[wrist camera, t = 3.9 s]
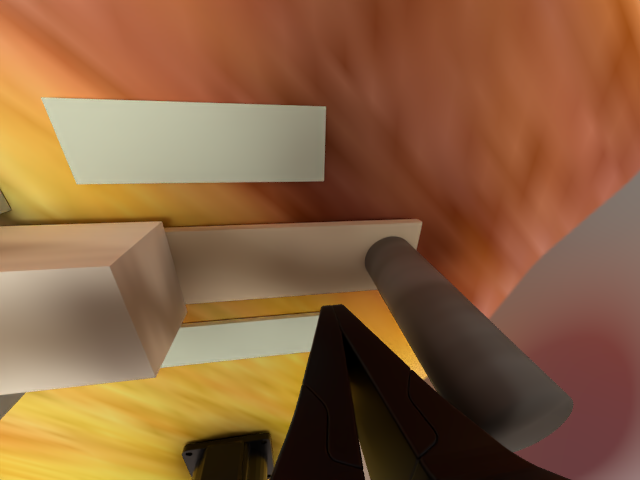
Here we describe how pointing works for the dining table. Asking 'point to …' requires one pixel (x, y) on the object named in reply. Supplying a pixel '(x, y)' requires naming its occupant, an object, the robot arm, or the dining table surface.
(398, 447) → the robot arm
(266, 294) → the sled
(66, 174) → the dining table surface
